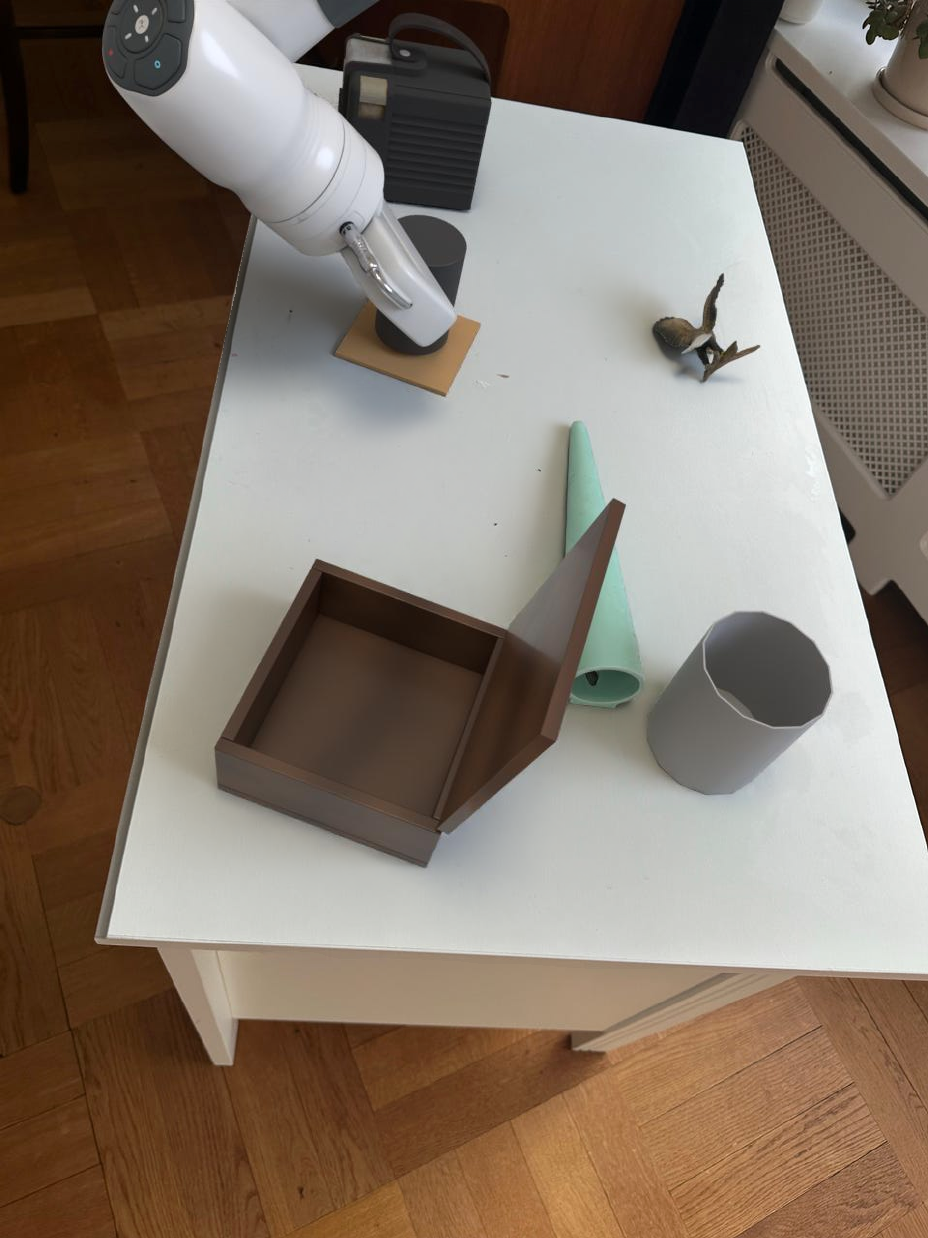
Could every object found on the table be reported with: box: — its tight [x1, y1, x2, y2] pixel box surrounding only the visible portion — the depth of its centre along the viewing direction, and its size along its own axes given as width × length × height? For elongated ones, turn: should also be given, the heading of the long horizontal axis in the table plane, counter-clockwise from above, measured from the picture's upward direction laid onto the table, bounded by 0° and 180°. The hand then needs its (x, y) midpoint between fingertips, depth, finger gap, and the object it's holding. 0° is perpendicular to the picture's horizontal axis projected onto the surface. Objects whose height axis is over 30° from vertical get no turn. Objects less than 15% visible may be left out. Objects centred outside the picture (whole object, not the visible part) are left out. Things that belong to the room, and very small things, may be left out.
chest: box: [213, 558, 508, 869], centre depth 59 cm, size 14×15×6 cm
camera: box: [337, 12, 493, 211], centre depth 89 cm, size 11×14×15 cm
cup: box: [646, 610, 834, 796], centre depth 61 cm, size 8×8×10 cm
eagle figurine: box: [653, 272, 761, 383], centre depth 86 cm, size 8×7×9 cm
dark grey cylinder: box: [375, 214, 468, 355], centre depth 78 cm, size 6×6×9 cm
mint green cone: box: [565, 420, 646, 709], centre depth 70 cm, size 5×6×27 cm
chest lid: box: [437, 497, 627, 835], centre depth 50 cm, size 14×15×1 cm
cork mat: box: [334, 298, 482, 397], centre depth 82 cm, size 10×10×1 cm
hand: (425, 282), depth 78 cm, fingers closed on dark grey cylinder, 6 cm apart
